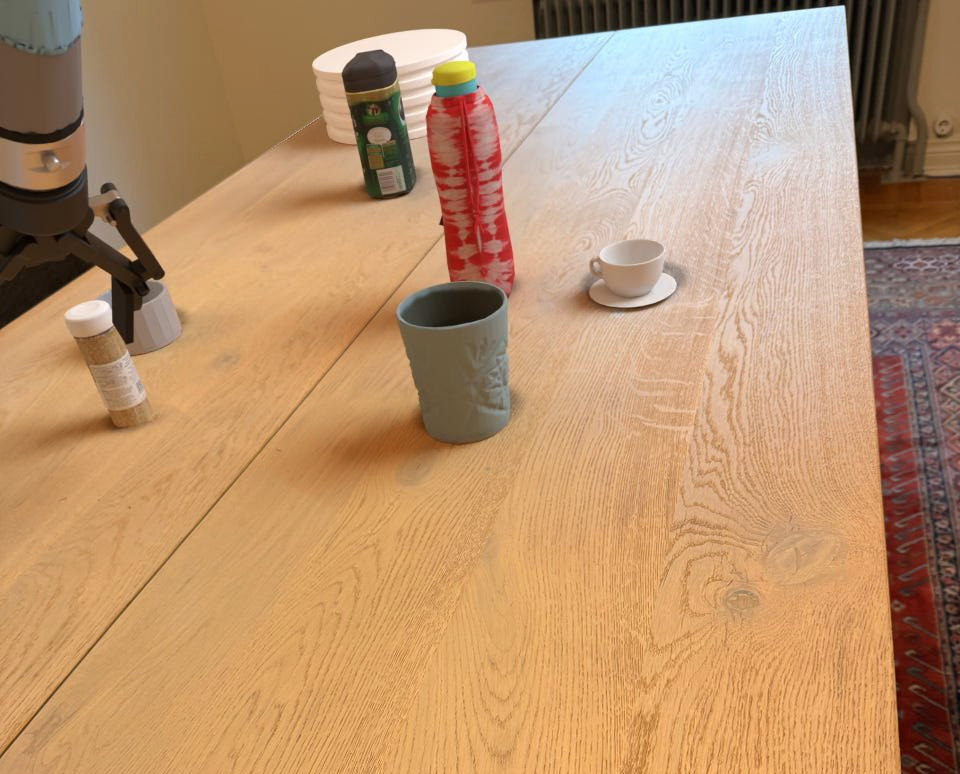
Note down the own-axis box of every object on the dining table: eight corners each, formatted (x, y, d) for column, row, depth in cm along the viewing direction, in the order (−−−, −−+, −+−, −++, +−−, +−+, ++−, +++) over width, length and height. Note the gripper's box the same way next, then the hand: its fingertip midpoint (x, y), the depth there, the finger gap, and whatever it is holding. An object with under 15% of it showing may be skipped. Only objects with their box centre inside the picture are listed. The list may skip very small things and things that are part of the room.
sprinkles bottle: (126, 418, 103) (73, 300, 94) (164, 415, 103) (115, 296, 93) (111, 441, 100) (54, 321, 91) (150, 437, 99) (97, 316, 90)
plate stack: (302, 148, 171) (285, 77, 163) (363, 101, 189) (350, 36, 182) (445, 141, 162) (433, 65, 154) (494, 92, 180) (486, 23, 173)
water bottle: (448, 281, 118) (410, 54, 101) (511, 270, 118) (483, 41, 101) (454, 321, 109) (414, 80, 92) (522, 310, 109) (494, 66, 92)
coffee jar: (371, 182, 151) (343, 50, 139) (419, 175, 150) (395, 42, 138) (363, 203, 144) (334, 66, 132) (414, 196, 143) (389, 57, 131)
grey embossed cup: (399, 425, 94) (374, 310, 86) (476, 383, 98) (458, 270, 90) (463, 459, 88) (441, 339, 80) (542, 413, 92) (529, 294, 84)
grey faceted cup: (98, 342, 120) (79, 301, 116) (162, 314, 123) (146, 273, 120) (128, 362, 114) (109, 319, 110) (195, 332, 118) (179, 290, 114)
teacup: (686, 275, 110) (687, 235, 106) (661, 314, 103) (661, 272, 100) (605, 272, 114) (603, 232, 110) (576, 308, 107) (573, 268, 104)
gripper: (-140, 233, 60) (-77, 427, 78) (216, 165, 72) (198, 347, 90) (-190, 146, 61) (-117, 357, 79) (168, 93, 73) (160, 287, 91)
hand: (50, 352), depth 85 cm, fingers open, 13 cm apart
